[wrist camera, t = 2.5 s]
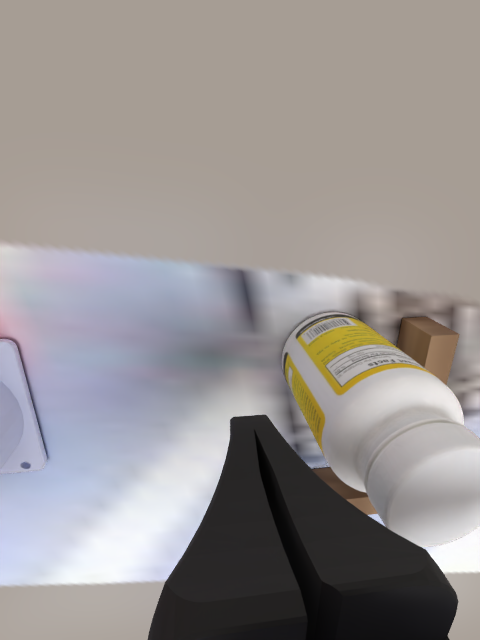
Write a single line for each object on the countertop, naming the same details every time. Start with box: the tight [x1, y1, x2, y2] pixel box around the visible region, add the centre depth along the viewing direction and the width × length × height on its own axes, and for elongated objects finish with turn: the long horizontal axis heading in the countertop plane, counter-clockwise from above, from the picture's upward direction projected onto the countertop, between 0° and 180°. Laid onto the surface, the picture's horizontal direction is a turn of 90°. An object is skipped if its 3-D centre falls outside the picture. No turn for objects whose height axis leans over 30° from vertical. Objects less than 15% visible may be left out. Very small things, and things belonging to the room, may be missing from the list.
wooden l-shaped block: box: [312, 317, 459, 515], centre depth 19 cm, size 8×12×2 cm, turn 0°
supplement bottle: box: [282, 312, 480, 547], centre depth 14 cm, size 5×5×10 cm
